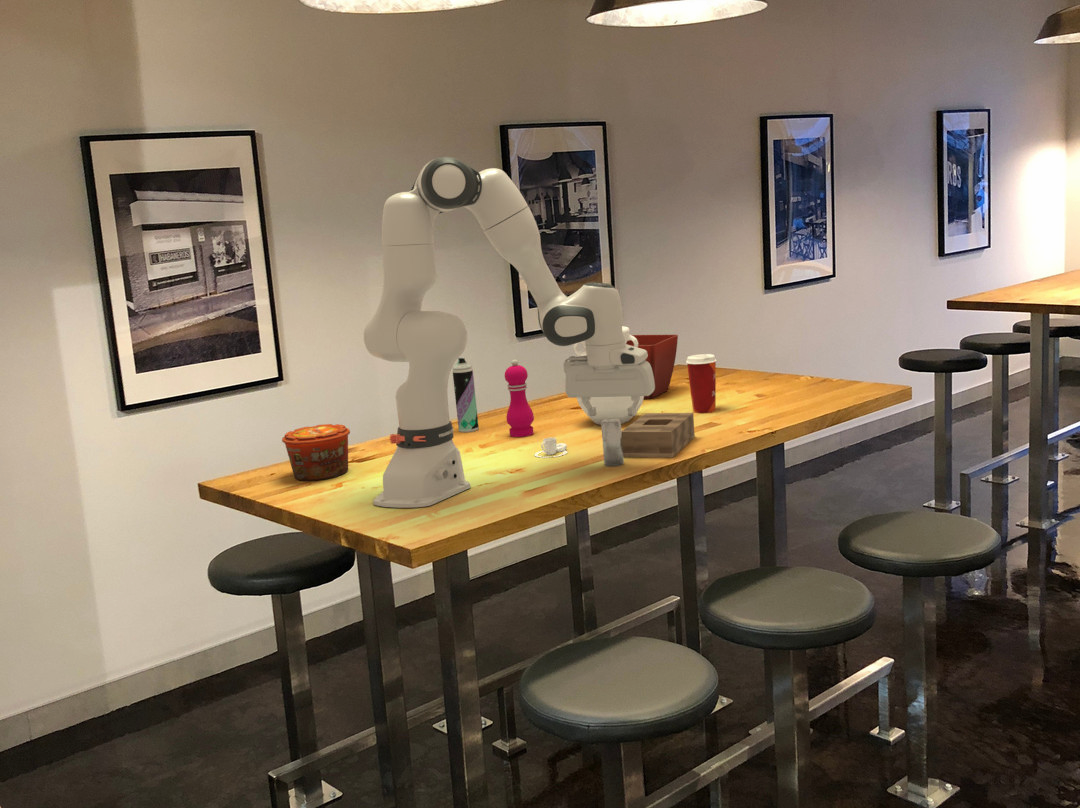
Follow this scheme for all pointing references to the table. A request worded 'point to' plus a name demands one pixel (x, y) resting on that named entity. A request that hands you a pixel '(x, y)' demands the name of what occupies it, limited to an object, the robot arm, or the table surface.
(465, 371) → the spray can
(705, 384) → the coffee cup
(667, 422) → the socket block
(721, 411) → the table surface
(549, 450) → the teacup and saucer
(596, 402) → the pitcher
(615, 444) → the pin
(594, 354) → the robot arm
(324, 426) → the food container
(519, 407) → the pepper mill
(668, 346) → the plant pot
